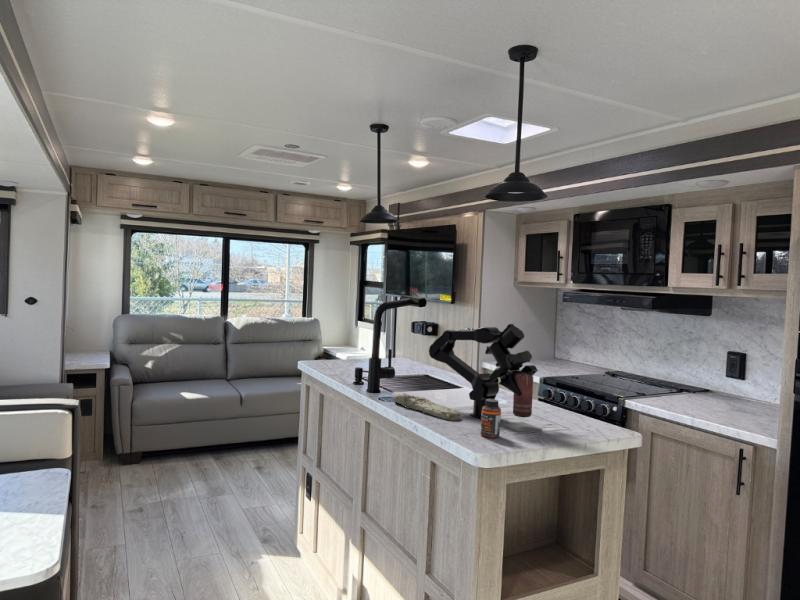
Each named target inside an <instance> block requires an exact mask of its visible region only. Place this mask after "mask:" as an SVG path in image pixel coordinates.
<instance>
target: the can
mask: <svg viewBox="0 0 800 600" xmlns="http://www.w3.org/2000/svg"><path fill="white" fill-rule="evenodd" d="M515 381H516V383H517V385H518V388H519V389H520V391H521V393H522V395H521V396H518V395H517V394H515V393H514V392H513V398H512V399H513V402H512V403H513V404H512V405H513V406H512V413H513V415H514V416H515V417H518V418H530V417H531V416H532V415H533V414H532V412H533V395H534V394H533V393H534V392H533V391H534V375H533V376H532V374H530V373H516V375H515Z"/></svg>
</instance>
